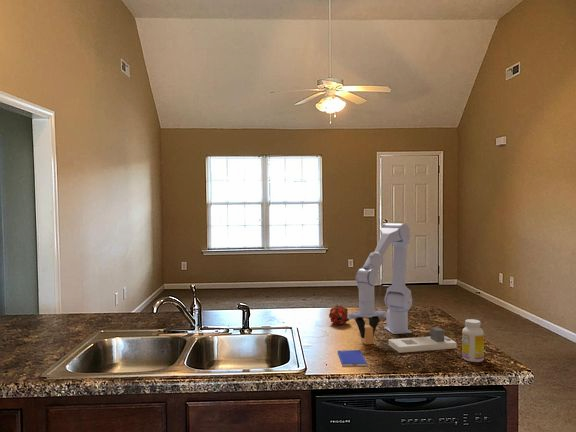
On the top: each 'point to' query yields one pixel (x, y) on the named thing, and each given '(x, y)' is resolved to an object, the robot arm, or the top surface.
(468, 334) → the supplement bottle
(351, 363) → the hard drive
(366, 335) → the orange rectangular block
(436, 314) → the top surface
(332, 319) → the dragon fruit
